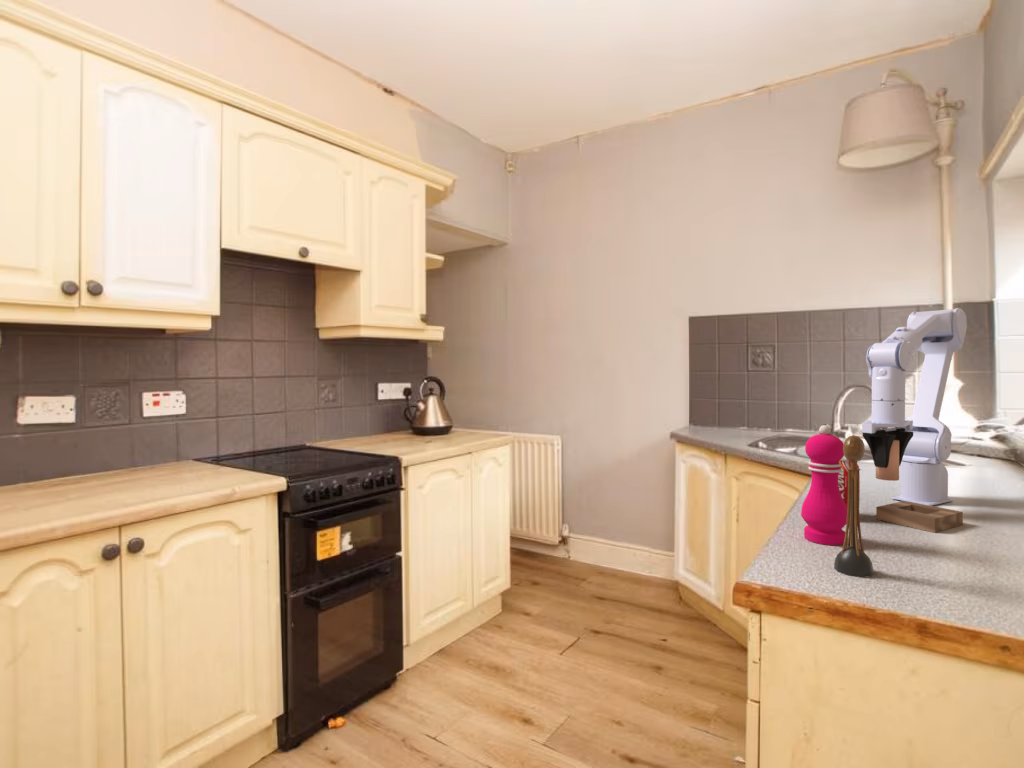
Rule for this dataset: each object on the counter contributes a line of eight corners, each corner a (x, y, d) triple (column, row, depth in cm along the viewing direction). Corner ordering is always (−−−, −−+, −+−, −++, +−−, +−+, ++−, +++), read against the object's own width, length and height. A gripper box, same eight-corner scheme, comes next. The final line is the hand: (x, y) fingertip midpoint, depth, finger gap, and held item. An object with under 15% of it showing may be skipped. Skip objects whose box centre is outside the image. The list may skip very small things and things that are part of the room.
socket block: (904, 512, 112) (904, 500, 112) (962, 524, 103) (962, 511, 103) (876, 519, 108) (876, 506, 108) (934, 532, 99) (934, 518, 99)
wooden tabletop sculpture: (842, 561, 85) (843, 432, 84) (877, 568, 81) (878, 434, 81) (830, 571, 80) (831, 435, 80) (867, 579, 77) (868, 438, 77)
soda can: (867, 521, 107) (867, 459, 106) (830, 521, 107) (831, 460, 106) (846, 511, 114) (846, 454, 113) (811, 511, 114) (811, 454, 113)
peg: (882, 476, 116) (883, 438, 116) (903, 479, 112) (903, 440, 112) (871, 478, 114) (871, 439, 114) (891, 481, 111) (892, 441, 110)
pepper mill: (856, 547, 91) (856, 427, 90) (808, 545, 92) (809, 427, 92) (839, 534, 98) (839, 423, 98) (795, 532, 99) (795, 423, 99)
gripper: (887, 398, 120) (887, 460, 120) (847, 400, 113) (846, 466, 113) (924, 400, 113) (923, 465, 114) (883, 402, 107) (882, 471, 107)
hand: (887, 466), depth 113 cm, fingers closed on peg, 4 cm apart
